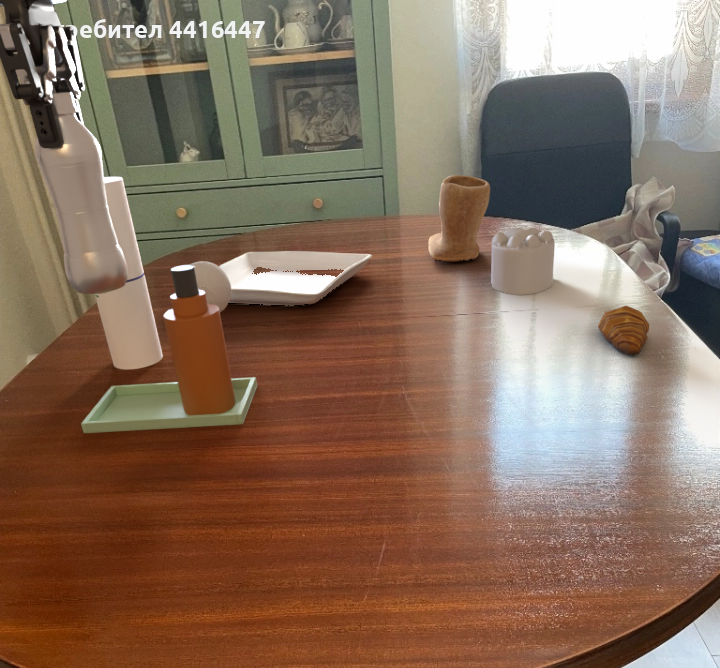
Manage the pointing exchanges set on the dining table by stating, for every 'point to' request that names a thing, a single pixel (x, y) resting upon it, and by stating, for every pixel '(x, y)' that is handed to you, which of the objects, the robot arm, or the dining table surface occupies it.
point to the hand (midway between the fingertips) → (64, 143)
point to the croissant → (625, 329)
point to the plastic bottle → (81, 204)
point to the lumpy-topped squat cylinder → (522, 261)
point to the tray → (161, 408)
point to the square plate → (288, 276)
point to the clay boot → (459, 218)
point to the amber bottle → (198, 347)
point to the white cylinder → (213, 283)
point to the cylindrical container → (128, 294)
